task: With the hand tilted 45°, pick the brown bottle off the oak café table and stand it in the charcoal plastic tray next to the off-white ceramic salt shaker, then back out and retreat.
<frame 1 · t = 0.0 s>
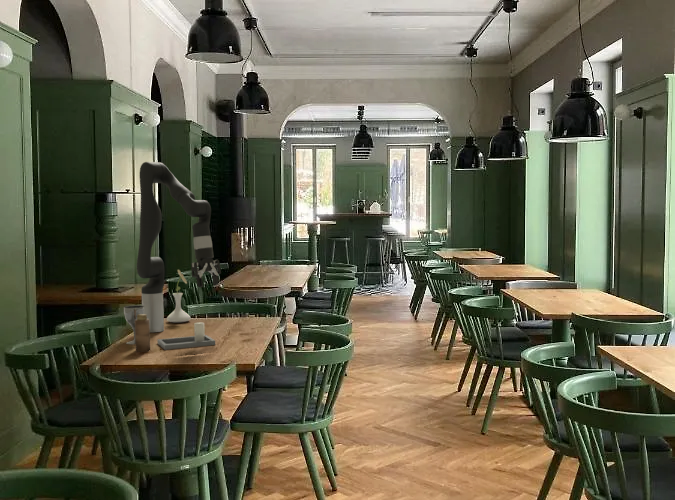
hand: (208, 286, 311), 22 cm above the table, tool pointing down, fingers open, 8 cm apart
wine glass: (135, 343, 307), on the table
salt shaker: (199, 342, 300), point 1 cm above the table, touching condiment tray
flower in vase: (179, 322, 358), on the table
condiment tray: (186, 346, 298), on the table
brown bottle: (143, 350, 291), on the table
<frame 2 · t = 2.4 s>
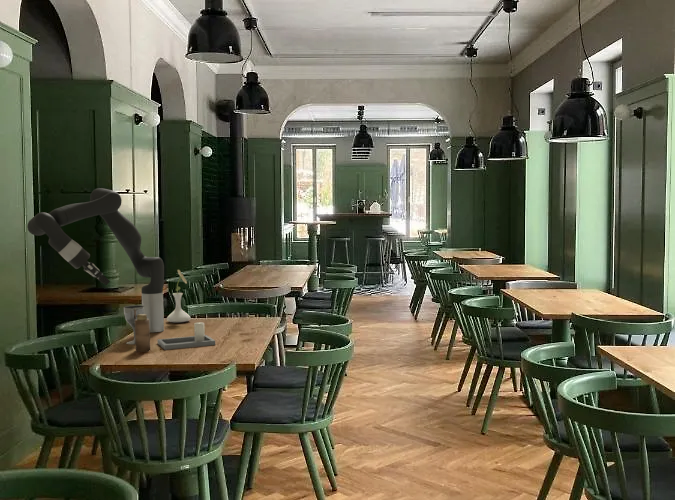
hand: (106, 282, 289), 27 cm above the table, tool tilted 45°, fingers open, 8 cm apart
nothing on the table moved.
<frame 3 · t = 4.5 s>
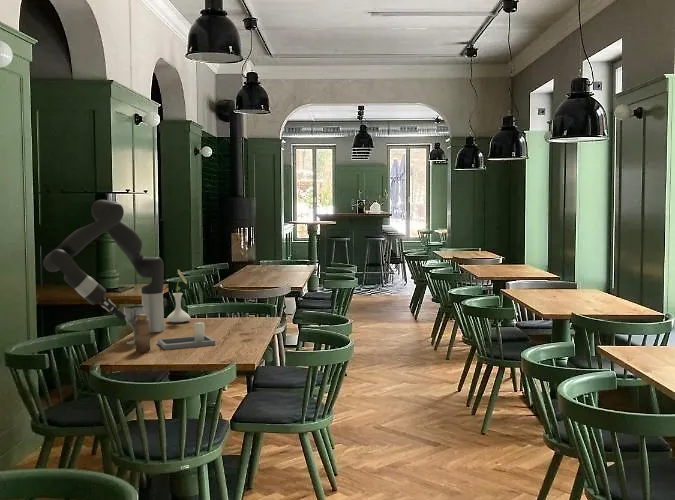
hand: (122, 317, 287), 14 cm above the table, tool tilted 45°, fingers open, 8 cm apart
nothing on the table moved.
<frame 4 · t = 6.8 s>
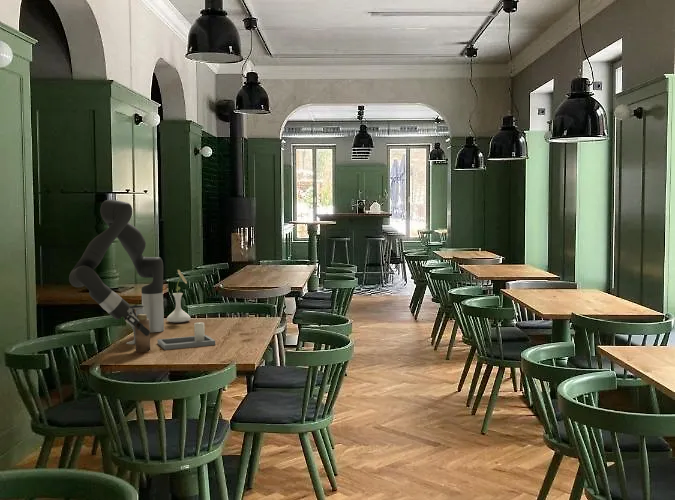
hand: (147, 332, 291), 7 cm above the table, tool tilted 45°, fingers closed on brown bottle, 5 cm apart
brown bottle: (143, 350, 291), on the table, touching gripper
everything else where it was.
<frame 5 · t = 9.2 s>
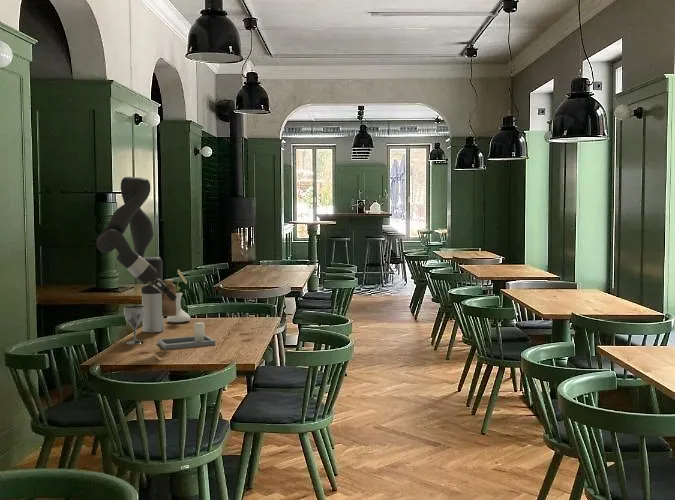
hand: (173, 297, 294), 20 cm above the table, tool tilted 45°, fingers closed on brown bottle, 5 cm apart
brown bottle: (169, 315, 294), point 13 cm above the table, touching gripper
everything else where it was.
when the fingers open (8 cm above the table, at t = 12.0 s): brown bottle stays where it is, resting on condiment tray.
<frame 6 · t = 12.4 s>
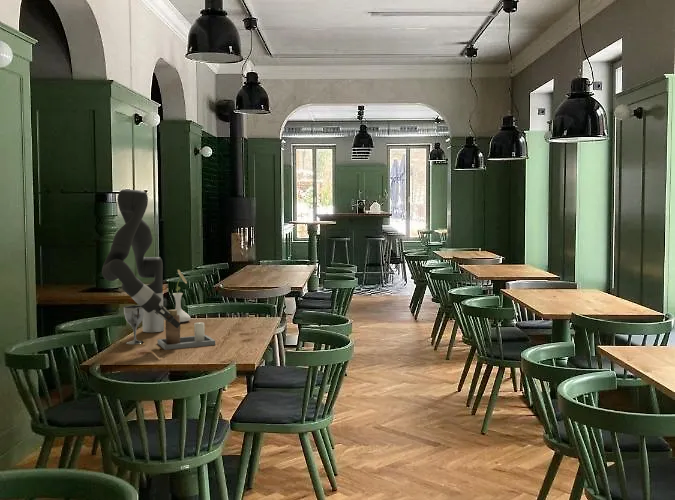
hand: (176, 324, 295), 9 cm above the table, tool tilted 45°, fingers open, 8 cm apart
brown bottle: (173, 345, 295), point 1 cm above the table, touching condiment tray
everything else where it was.
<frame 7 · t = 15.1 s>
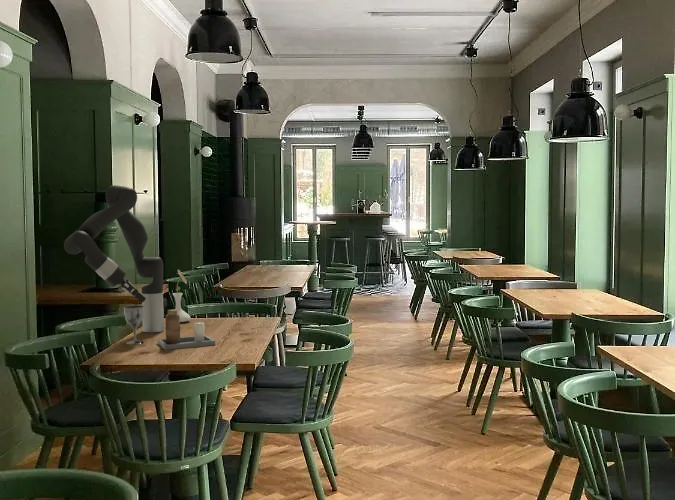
hand: (142, 299, 289), 20 cm above the table, tool tilted 45°, fingers open, 8 cm apart
nothing on the table moved.
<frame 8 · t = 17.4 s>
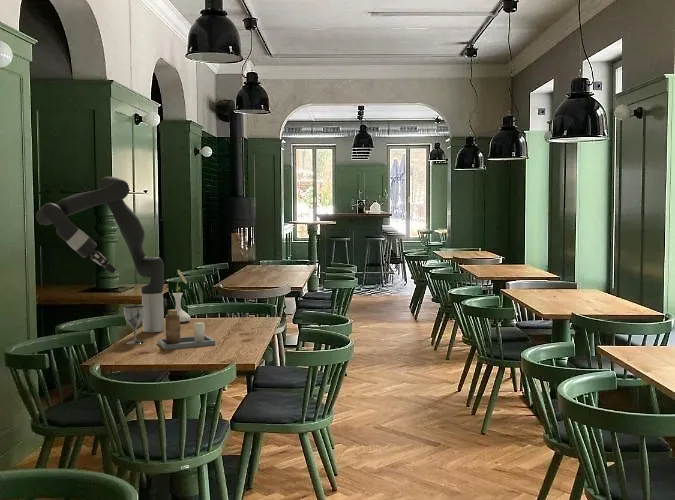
hand: (112, 270, 296), 31 cm above the table, tool tilted 45°, fingers open, 8 cm apart
nothing on the table moved.
at the end: brown bottle inside the target area on the condiment tray (5.1 cm from its centre), point 0.8 cm above the condiment tray's base; brown bottle tilted 1°; the gripper is holding nothing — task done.
